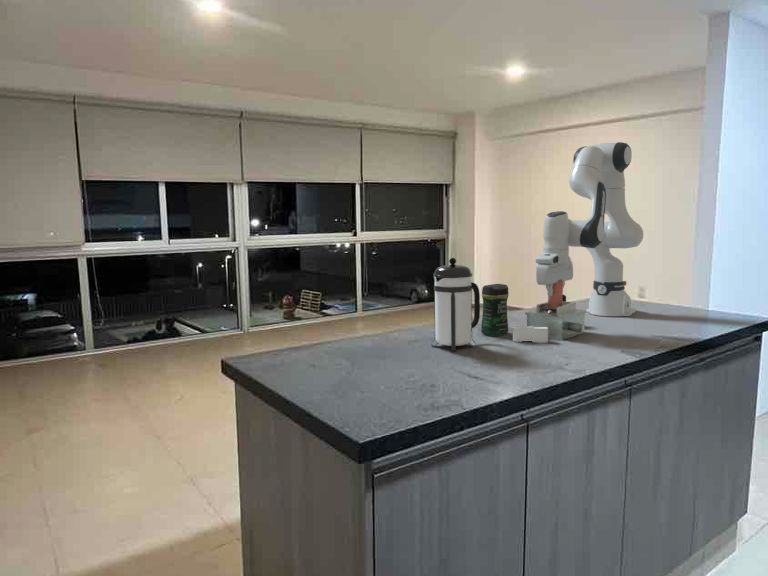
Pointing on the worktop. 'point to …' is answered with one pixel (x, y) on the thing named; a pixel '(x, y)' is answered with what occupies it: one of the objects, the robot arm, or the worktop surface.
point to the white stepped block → (530, 334)
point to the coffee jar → (494, 310)
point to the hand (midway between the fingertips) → (555, 294)
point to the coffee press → (454, 305)
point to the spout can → (556, 295)
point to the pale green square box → (558, 320)
